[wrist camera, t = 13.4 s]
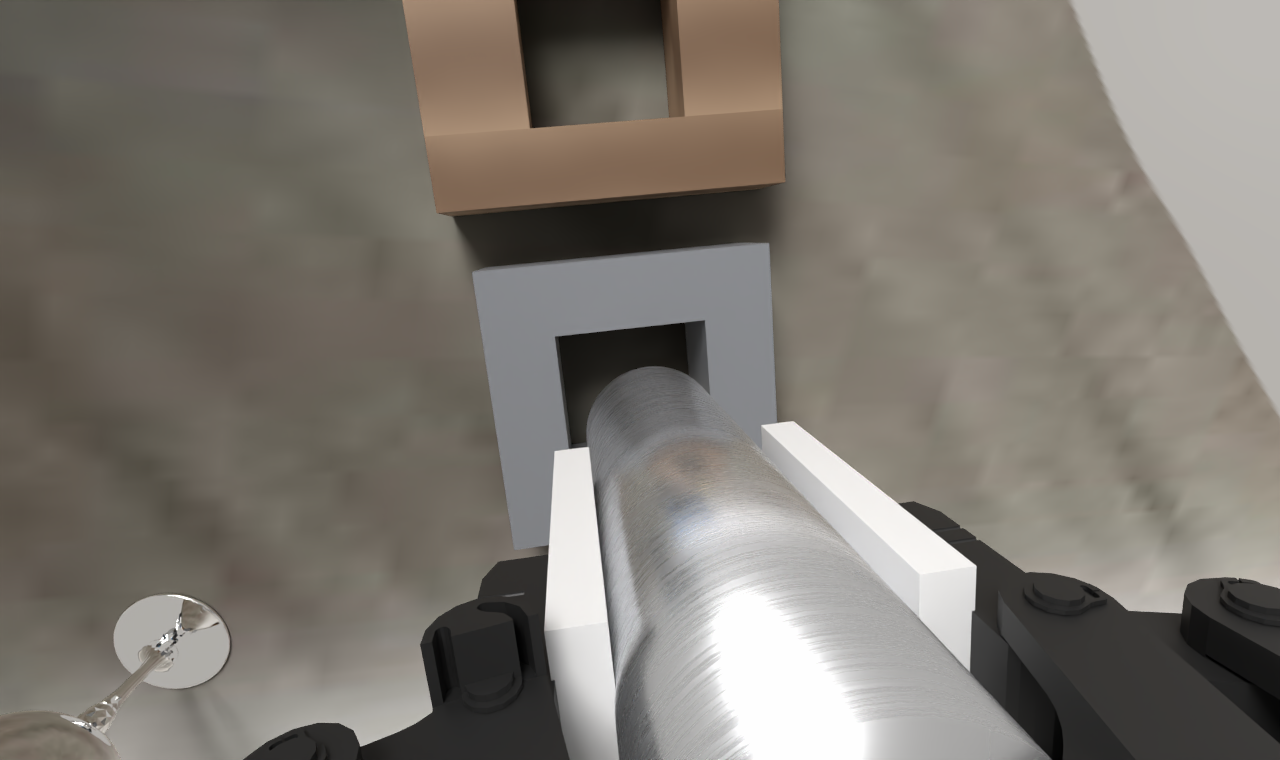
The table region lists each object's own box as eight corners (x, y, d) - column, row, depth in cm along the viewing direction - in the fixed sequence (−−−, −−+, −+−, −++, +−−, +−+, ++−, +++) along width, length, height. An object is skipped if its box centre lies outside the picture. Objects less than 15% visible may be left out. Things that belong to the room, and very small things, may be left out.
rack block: (486, 267, 24) (471, 272, 20) (737, 242, 25) (769, 242, 21) (521, 504, 26) (514, 549, 23) (750, 474, 27) (780, 512, 23)
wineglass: (153, 552, 25) (-206, 822, 13) (276, 631, 26) (48, 939, 15) (67, 651, 25) (-352, 995, 14) (192, 724, 27) (-94, 1094, 15)
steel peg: (579, 374, 18) (615, 769, 5) (713, 359, 18) (1119, 681, 5) (594, 501, 19) (661, 1147, 5) (721, 484, 19) (1084, 1050, 6)
